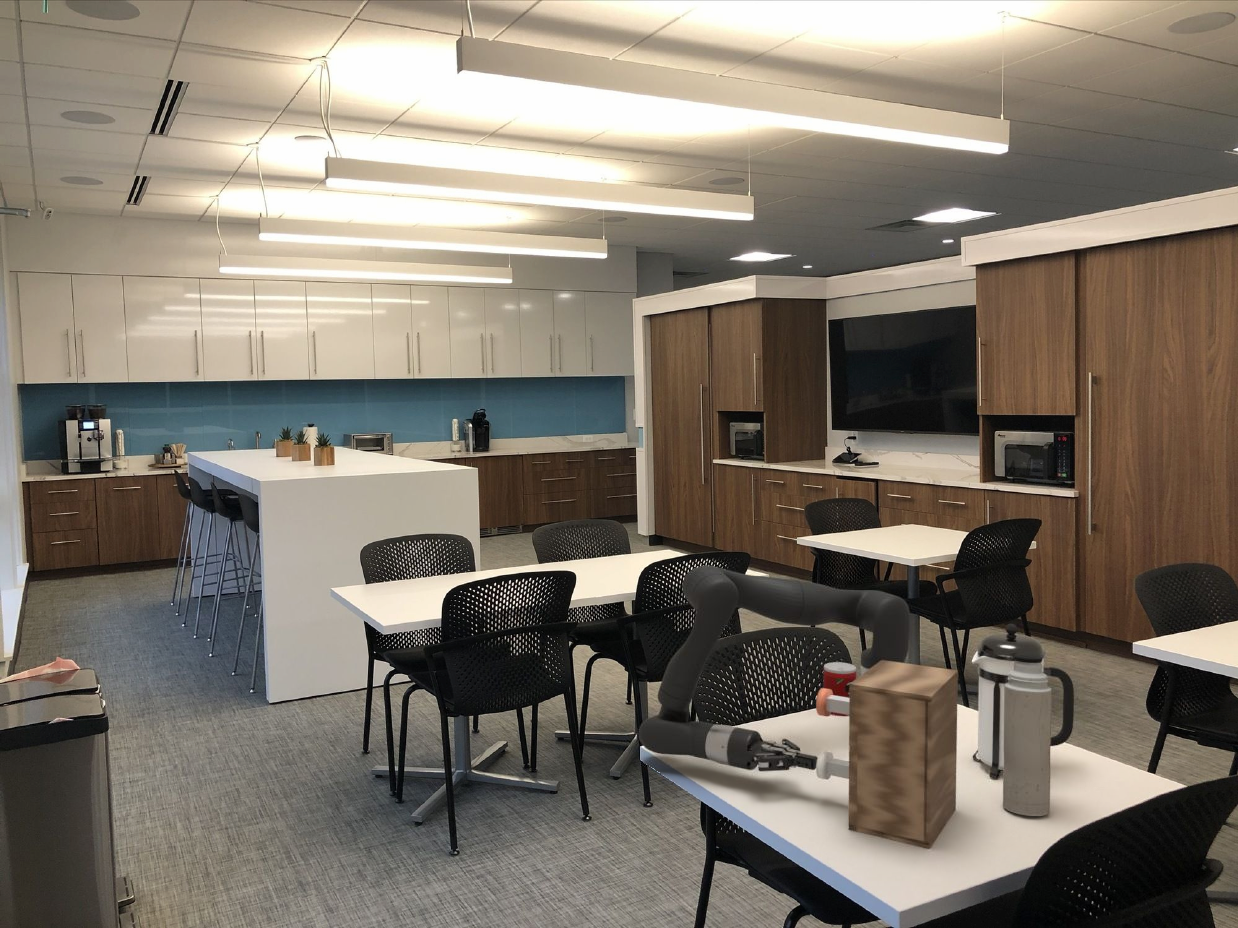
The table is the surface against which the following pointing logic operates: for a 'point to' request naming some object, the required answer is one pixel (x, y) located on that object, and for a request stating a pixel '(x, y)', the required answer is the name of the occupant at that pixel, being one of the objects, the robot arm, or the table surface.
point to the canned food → (839, 679)
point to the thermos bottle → (1027, 738)
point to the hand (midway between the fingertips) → (816, 763)
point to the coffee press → (992, 678)
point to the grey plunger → (831, 766)
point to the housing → (903, 751)
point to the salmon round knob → (831, 703)
